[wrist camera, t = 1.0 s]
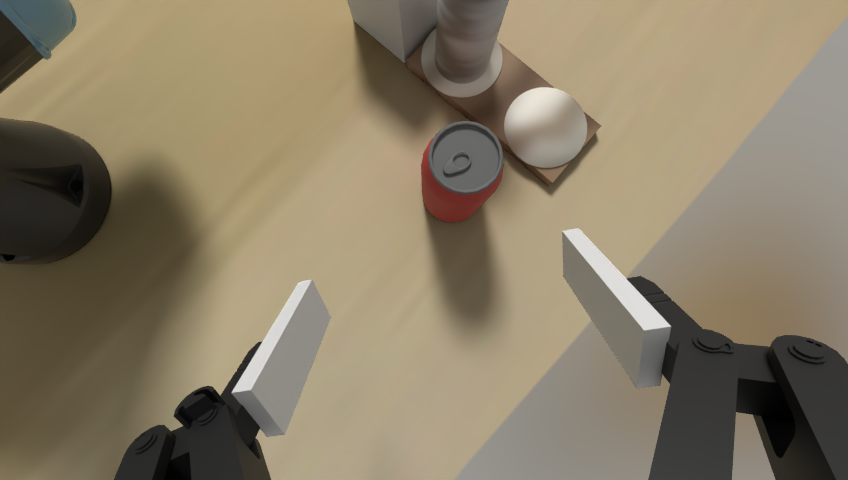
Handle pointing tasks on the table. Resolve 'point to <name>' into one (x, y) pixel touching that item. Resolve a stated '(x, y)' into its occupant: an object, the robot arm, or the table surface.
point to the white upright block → (396, 22)
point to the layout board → (500, 88)
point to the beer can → (460, 170)
